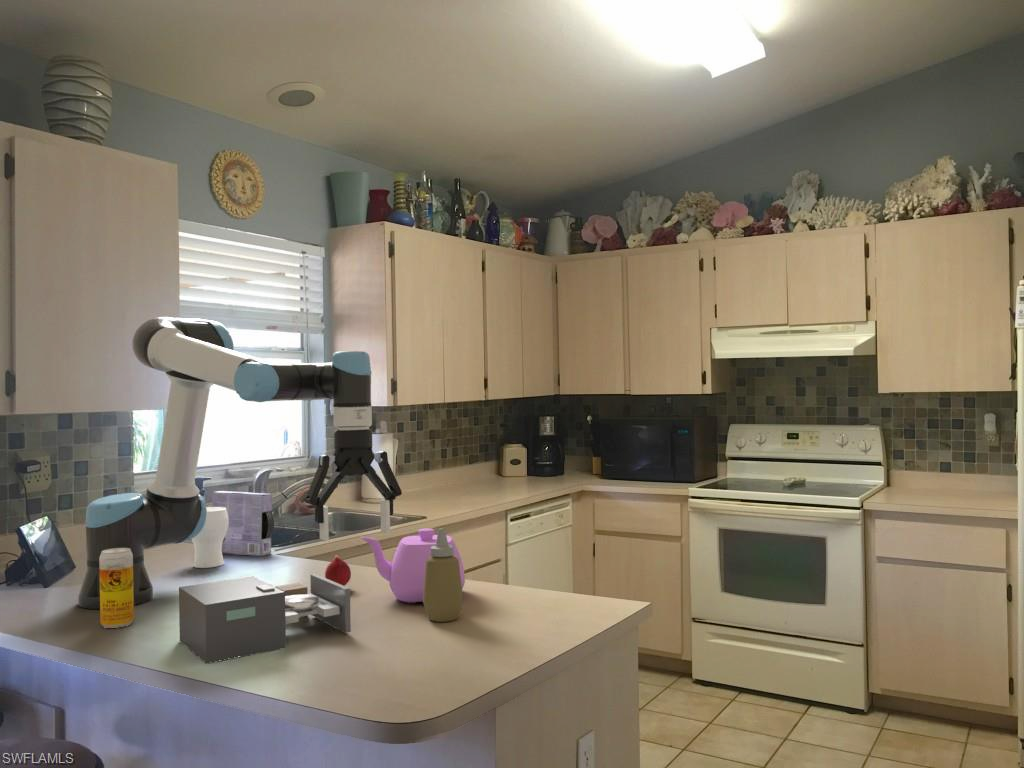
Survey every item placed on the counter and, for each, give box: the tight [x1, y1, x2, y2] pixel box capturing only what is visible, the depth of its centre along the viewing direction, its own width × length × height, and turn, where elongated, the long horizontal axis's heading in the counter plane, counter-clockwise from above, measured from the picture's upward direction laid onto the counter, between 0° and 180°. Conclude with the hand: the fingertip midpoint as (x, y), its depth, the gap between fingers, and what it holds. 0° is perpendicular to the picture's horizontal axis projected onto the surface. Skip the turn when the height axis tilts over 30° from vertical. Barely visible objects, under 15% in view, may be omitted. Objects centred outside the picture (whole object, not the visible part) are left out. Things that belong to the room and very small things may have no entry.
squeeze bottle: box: [422, 527, 464, 623], centre depth 171 cm, size 8×8×18 cm
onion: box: [324, 555, 352, 587], centre depth 197 cm, size 6×6×8 cm
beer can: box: [99, 548, 135, 629], centre depth 171 cm, size 6×6×15 cm
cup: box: [190, 506, 229, 569], centre depth 229 cm, size 11×11×15 cm
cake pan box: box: [212, 490, 275, 557], centre depth 245 cm, size 19×5×18 cm, turn 68°
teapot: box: [360, 527, 466, 604], centre depth 190 cm, size 23×21×15 cm
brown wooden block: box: [274, 582, 309, 618], centre depth 175 cm, size 5×5×6 cm
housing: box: [178, 576, 287, 664], centre depth 156 cm, size 17×14×10 cm
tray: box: [285, 573, 352, 633], centre depth 163 cm, size 17×14×8 cm
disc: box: [285, 595, 319, 613], centre depth 163 cm, size 8×8×2 cm
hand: (355, 535), depth 170 cm, fingers open, 12 cm apart
